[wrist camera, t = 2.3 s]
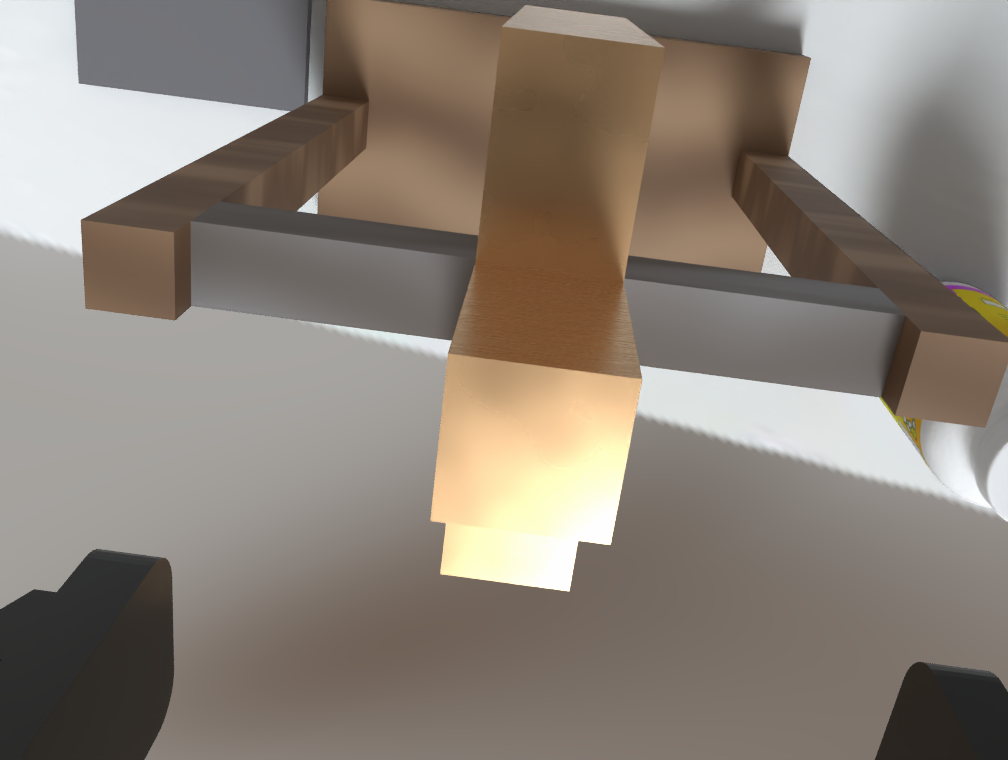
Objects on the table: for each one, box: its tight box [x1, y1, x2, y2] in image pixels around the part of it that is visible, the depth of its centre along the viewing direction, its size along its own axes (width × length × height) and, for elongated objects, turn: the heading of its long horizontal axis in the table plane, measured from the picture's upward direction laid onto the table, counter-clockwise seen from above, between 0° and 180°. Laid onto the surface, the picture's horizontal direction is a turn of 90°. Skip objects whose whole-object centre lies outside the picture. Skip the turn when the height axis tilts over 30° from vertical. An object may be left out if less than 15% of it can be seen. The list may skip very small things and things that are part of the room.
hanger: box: [431, 5, 665, 591], centre depth 23 cm, size 12×3×17 cm, turn 173°
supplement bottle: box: [879, 282, 1008, 522], centre depth 40 cm, size 7×7×13 cm
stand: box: [81, 0, 1008, 428], centre depth 32 cm, size 10×20×24 cm, turn 83°
